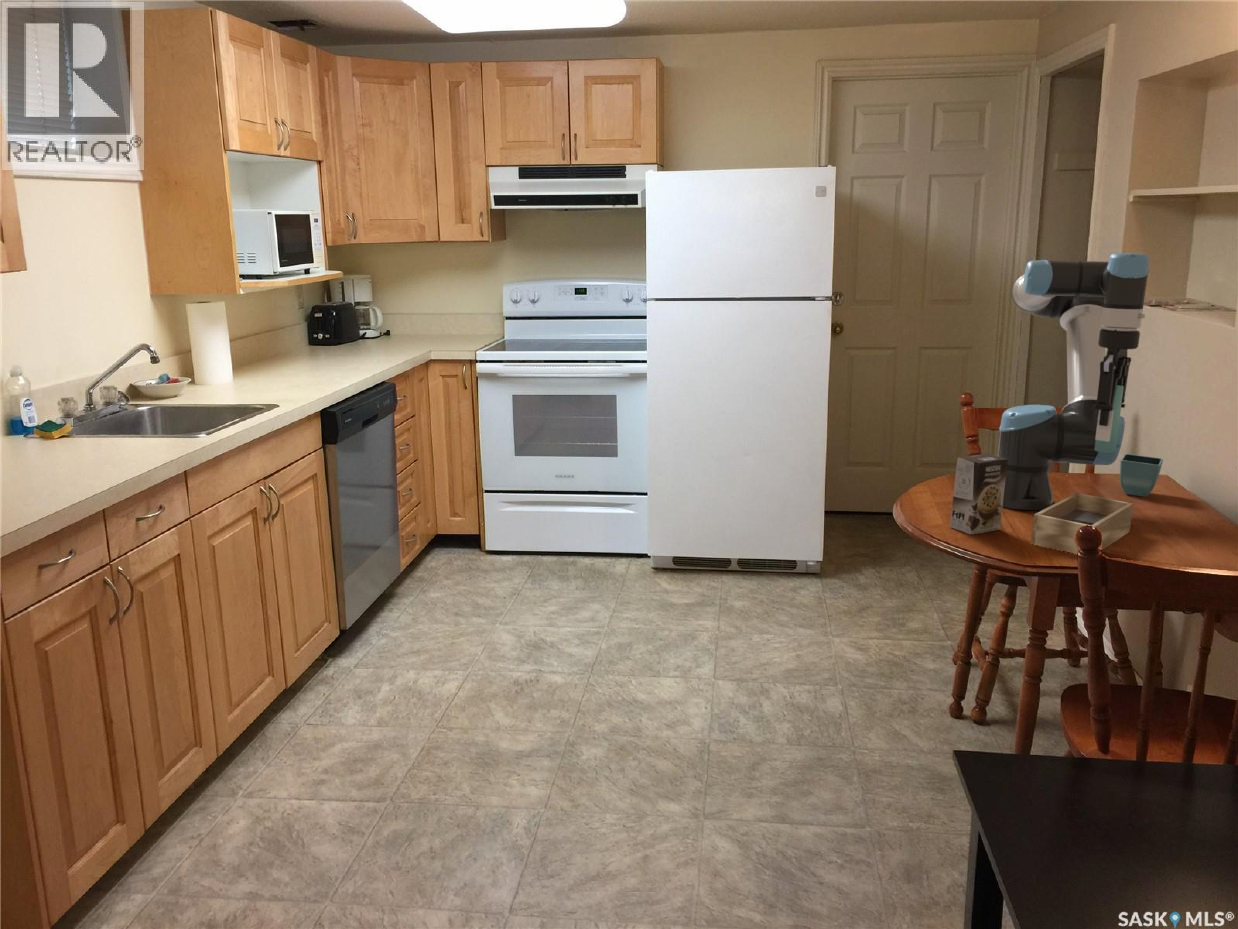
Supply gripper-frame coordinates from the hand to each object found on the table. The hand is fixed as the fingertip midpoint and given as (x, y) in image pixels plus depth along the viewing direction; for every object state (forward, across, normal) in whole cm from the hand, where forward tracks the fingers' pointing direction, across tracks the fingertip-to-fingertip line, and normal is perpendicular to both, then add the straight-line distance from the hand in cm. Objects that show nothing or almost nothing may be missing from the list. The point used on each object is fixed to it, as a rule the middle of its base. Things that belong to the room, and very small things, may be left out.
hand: (1105, 438), depth 211 cm
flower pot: (+21, +41, +2) cm, 46 cm away
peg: (+3, 0, 0) cm, 3 cm away
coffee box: (+21, -15, +20) cm, 33 cm away
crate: (+21, -6, +1) cm, 22 cm away
